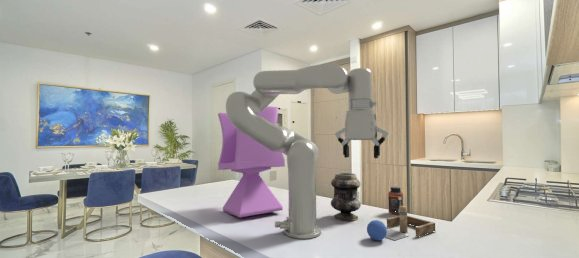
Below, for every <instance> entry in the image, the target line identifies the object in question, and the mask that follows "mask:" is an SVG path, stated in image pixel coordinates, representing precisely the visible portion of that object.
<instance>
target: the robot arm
mask: <svg viewBox="0 0 579 258" xmlns="http://www.w3.org/2000/svg"><path fill="white" fill-rule="evenodd" d="M372 82H373V81H372V71H371V70H370V69H369V68H366V67H359V68H358V67H357V68H353V69H351V70H350V71H349V72H347V70H346V69H345V68H344V67H343V66H340V65H336V64H319V65H318V64H317V65H310V66H307V67H303V68H298V69H290V70H289V69H287V70H285V69H284V70H281V69H280V70H263V71H258V72H257V73H256V74H255V75H254V77H253V81H252V83H253V87H254V88H255V90H254V91H252V93H247V92H245V91H235V92H231V94H229V95H228V97H227V99H226V102H225V111H226V112H225V113H227V116H228V118H229V120H230V121H231V123H232V124H233V125H234V126H235V127H236V128H237V129H238V130H239V131H241V132H242V133H244V134H246V135H247V136H249V137H250V138H252V139H254V140H255V141H257V142H258V143H260V144H262V145H263V146H265V147H266V148H268V149H269V150H271V151H274V152H282V154H284V155H286V163H287V174H288V175H287V176H288V217H286V218H285V219H286V220H285V219H284V220H283V221H275V222H274V228H279V230H283V233H284V234H285V236H287V237H289V238H294V239H301V240H302V239H303V240H304V239H313V238H317V237H319V236H320V235H321V234H322V229H321V228H320V227H319V226H318V225H317V173H316V172H317V171H316V161H317V160H318V158H319V153H320V152H319V149H318V146H317V145H316V143H315V142H313V141H312V140H310V139H308V138H306V137H304V136H303V135H300V134H299V133H296V131H293V130H292V129H289V128H287V127H286V126H281V125H278V124H277V125H275V124H273V123H271V122H269V121H267V120H265V119H264V118H262V117H260V116H258V114H259V113H260V112H261V111H262V110H264V109H265V108H266V107H267V106H270V104H271V103H272V102H274V100H276V99H277V98H278V96H279V95H298V94H300V93H302V92H305V91H307V90H312V89H327V90H328V91H329V92H330V93H331V94H334V95H340V94H345V93H348V110H347V111H346V114H345V120H344V121H345V122H344V128H342V129H339V131H336V132H335V133H334V134H335V137H336V138H337V141H338V142H339V143H340V144H341V146H342V155H343V156H344V158H349V157H350V145H349V144H350V142H351V141H372V142H373V144H374V145H373V158H374V159H379V156H380V154H381V145H382V144H383V143H384V142H385V141H386V139H387V138H388V135H389V132H388V131H387V130H384V129H383V128H381V127H378V122H377V121H378V120H377V115H376V110H375V109H373V108H374V107H375V106H378V105H377V104H378V103H377V101H373V96H372V95H373V93H372V91H373V90H372V89H373V87H372V86H373V84H372ZM379 133H380V134H382V135H381V137H380V138H379V137H378V136H379ZM343 134H344V139H343V137H342V135H343ZM378 138H379V139H378Z"/></svg>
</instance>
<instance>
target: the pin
mask: <svg viewBox="0 0 579 258" xmlns="http://www.w3.org/2000/svg"><path fill="white" fill-rule="evenodd" d="M399 214H400V215H399V216H400V225H399V232H402V233H403V232H407V233H408V225H407V216H408V207H407V206H406V205H403V206H399Z"/></svg>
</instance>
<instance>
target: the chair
mask: <svg viewBox="0 0 579 258" xmlns="http://www.w3.org/2000/svg"><path fill="white" fill-rule="evenodd" d="M278 115H279V108H278V107H276V106H271V105H268V106H267V107H266V108H265V109H264V110H262V111H261V112H260V113H259V114H258V116H260V117H262V118H264V119H265V120H267V121H269V122H271V123H273V124H275V125H277V126H278ZM217 116H218V119H219V123H220V128H221V134H222V135H221V136H222V142H221V144H222V145H221V150H220V154H219V155H220V157H219V160H218V163H217V166H218V167H217V168H218V169H217V170H219V171H221V170H224V171H225V170H226V171H227V170H230V171H231V172H233V173H239V174H242V177H241V178H240V180H238V181H239V182H238V183H237V184H236V186H235V188H234V189H233V191H232V192H231V194H230V196H228V199H227V200H226V202H225V203H224V205H223V206H222V212H224V213H226V214H230V215H231V216H235V217H238V218H244V217H249V216H257V215H262V214H269V213H273V212H281V211H283V204H282V203H281V202H280V200H278V198H277V197H276V196H275V194H274V193H273V192H272V190H271V189H270V187H269V186H268V185H267V184H266V182H265V180H263V179H262V177H261V176H260V173H262V172H265V171H268V170H272V168H280V167H282V168H283V167H286V163H285V161H286V160H285V156H284V155H283V153H282V152H274V151H271V150H269V149H268V148H266V147H265V146H263V145H262V144H260V143H258V142H257V141H255V140H254V139H252V138H250V137H249V136H247V135H246V134H244V133H242V132H241V131H239V130H238V129H237V128H236V127H235V126H234V125H233V124H232V123H231V121H230V120H229V118H228V116H227V112H219V113H218V114H217Z"/></svg>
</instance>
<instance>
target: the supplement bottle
mask: <svg viewBox="0 0 579 258" xmlns="http://www.w3.org/2000/svg"><path fill="white" fill-rule="evenodd" d="M387 195H388V197H387V198H388V213H389V214H391V215H394V214H395V216H396V215H397V216H400V214H399V206H404V193H403V192H402V191H401V187H400V186H390V191H388V194H387ZM395 211H396V212H395Z"/></svg>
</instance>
